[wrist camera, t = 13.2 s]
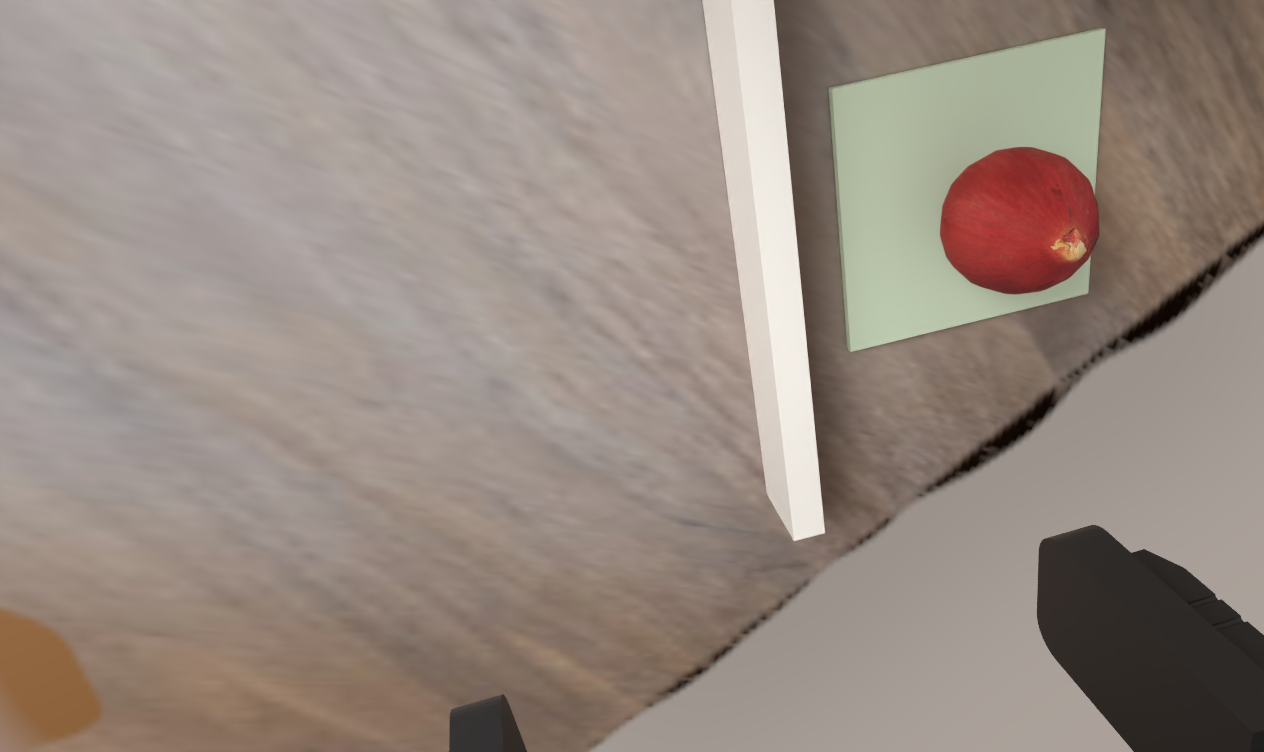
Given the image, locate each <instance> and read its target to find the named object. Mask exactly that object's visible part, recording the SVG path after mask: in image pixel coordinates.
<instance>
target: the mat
mask: <svg viewBox="0 0 1264 752" xmlns="http://www.w3.org/2000/svg"><path fill="white" fill-rule="evenodd" d="M1105 31H1106V29H1101V28H1099V29H1094V30H1090V31H1085V32H1081V33H1076V34H1072V35H1067V36H1062V37H1058V38H1053V39H1049V40H1044V41H1040V42H1035V43H1031V44H1026V45H1022V46H1017V47H1012V48H1008V49H1003V50H999V51H994V52H990V53H985V54H981V55H976V56H972V57H967V58H963V59H958V60H953V61H949V62H944V63H940V64H935V65H931V66H926V67H922V68H917V69H913V70H908V71H903V72H899V73H894V74H890V75H885V76H881V77H876V78H872V79H867V80H863V81H858V82H853V83H849V84H844V85H840V86H835V87H831V88H828V90H829V103H830V117H831V131H832V145H833V158H834V172H835V186H836V200H837V214H838V227H839V241H840V255H841V269H842V282H843V296H844V310H845V324H846V337H847V349H848V350H849V351H850V352H853V351H857V350H861V349H865V348H869V347H873V346H877V345H881V344H885V343H889V342H893V341H898V340H902V339H906V338H910V337H914V336H918V335H922V334H926V333H930V332H934V331H938V330H942V329H946V328H950V327H954V326H958V325H963V324H967V323H971V322H975V321H979V320H983V319H987V318H991V317H995V316H999V315H1003V314H1007V313H1011V312H1015V311H1019V310H1023V309H1028V308H1032V307H1036V306H1040V305H1044V304H1048V303H1052V302H1056V301H1060V300H1064V299H1068V298H1072V297H1076V296H1080V295H1084V294H1088V289H1089V274H1090V259H1091V255H1090V257H1089V259H1088V260H1087V261H1086V262H1085V263H1084V264H1083V265H1082V266H1081V267H1080V268H1079V269H1078V270H1077V271H1076V272H1075V273H1074V274H1073V275H1072V276H1071V277H1070V278H1069V279H1067V280H1065V281H1063V282H1061V283H1059V284H1057V285H1055V286H1053V287H1051V288H1048V289H1046V290H1043V291H1040V292H1033V293H1024V294H1016V295H1014V294H1004V293H1000V292H997V291H993V290H989V289H986V288H982V287H980V286H977V285H975V284H972V283H971V282H969V281H968V280H967V279H966V278H965V277H964V276H963V275H962V274H961V273H959V272H958V271H957V270H956V269H955V268H954V267H953V266H952V264H951V263H950V262H949V260H948V259H947V258H946V255H945V251H944V248H943V245H942V241H941V238H940V223H941V214H942V205H943V203H944V200H945V198H946V196H947V193H948V191H949V189H950V186H951V184H952V183H953V182H954V181H955V180H956V178H957V177H958V176H959V175H960V174H961V173H962V172H963V171H964V170H965V169H966V168H967V167H968V166H969V165H971V164H973V163H975V162H976V161H978V160H980V159H982V158H983V157H985V156H987V155H989V154H991V153H992V152H994V151H996V150H1002V149H1008V148H1015V147H1033V148H1037V149H1040V150H1044V151H1047V152H1051V153H1054V154H1057V155H1060V156H1062V157H1065V158H1067V159H1068V160H1069V161H1070V162H1071V163H1072V164H1073V165H1074V166H1075V167H1077V168H1078V169H1079V170H1080V171H1081V172H1082V173H1083V174H1084V175H1085V176H1086V177H1087V178H1088V179H1089V181H1090V183H1091V185H1092V188H1093V192H1094V195H1095V183H1096V168H1097V153H1098V137H1099V122H1100V107H1101V92H1102V77H1103V61H1104V46H1105Z"/></svg>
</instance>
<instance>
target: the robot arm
mask: <svg viewBox="0 0 1264 752" xmlns="http://www.w3.org/2000/svg"><path fill="white" fill-rule="evenodd" d="M1038 565H1039V566H1038V597H1037V619H1038V624H1039V628H1040V631H1041V634H1042V636H1043V639H1044V641H1045V643H1046V645H1047V647H1048V649H1049V650H1050V652H1051V654H1052V655H1053V656H1054V658H1055V659H1056V660H1057V661H1058V662H1059V664H1060V665H1061V666H1062V667H1063V669H1064V670H1065V671H1066V672H1067V673H1068V674H1069V676H1070V677H1071V678H1072V679H1073V680H1074V682H1075V683H1076V684H1077V685H1078V686H1079V687H1080V688H1081V690H1082V691H1083V692H1084V693H1085V694H1086V696H1087V697H1088V698H1089V699H1090V700H1091V702H1092V703H1093V704H1094V705H1095V706H1096V708H1097V709H1098V710H1099V711H1100V712H1101V713H1102V714H1103V716H1104V717H1105V718H1106V719H1107V720H1108V722H1109V723H1110V724H1111V725H1112V726H1113V728H1114V729H1115V730H1116V731H1117V732H1118V733H1119V734H1120V736H1121V737H1122V738H1123V739H1124V740H1125V742H1126V743H1127V744H1128V745H1129V746H1130V748H1131V749H1132V750H1133V751H1134V752H1264V635H1263V634H1262V633H1260V632H1259V631H1258V630H1257V629H1256V628H1254V627H1253V626H1252V625H1251V624H1250V623H1249V622H1243V621H1242V619H1241V616H1240V615H1239V614H1238V613H1237V612H1236V611H1234V610H1233V609H1232V608H1231V607H1230V606H1229V605H1227V604H1226V603H1225V602H1224V601H1222V600H1218V599H1217V598H1216V596H1215V594H1214V593H1213V592H1212V591H1211V590H1210V589H1208V588H1207V587H1206V586H1205V585H1204V584H1202V583H1201V582H1200V581H1199V580H1198V579H1197V578H1195V577H1194V576H1193V575H1192V574H1191V573H1190V572H1188V571H1187V570H1186V569H1184V568H1183V567H1181V566H1179V565H1177V564H1174V563H1172V562H1170V561H1168V560H1166V559H1164V558H1162V557H1160V556H1158V555H1155V554H1153V553H1151V552H1149V551H1147V550H1145V549H1143V550H1140V551H1137V552H1133V553H1131V552H1129V551H1128V550H1127V549H1126V548H1125V547H1124V546H1123V545H1122V544H1120V543H1119V542H1118V541H1117V540H1115V538H1114V537H1113V536H1111V535H1110V534H1109V533H1108V532H1107V531H1106V530H1104V529H1103V528H1101V527H1099V526H1096V525H1091V526H1087V527H1084V528H1080V529H1077V530H1074V531H1070V532H1067V533H1063V534H1060V535H1056V536H1053V537H1049V538H1046V539H1044V540H1042V542H1041V543H1040V547H1039V564H1038ZM449 752H527V750H526V748H525V745H524V742H523V740H522V737H521V735H520V732H519V729H518V727H517V724H516V722H515V719H514V716H513V714H512V711H511V708H510V706H509V703H508V701H507V699H506V697H505V696H504V695H503V694H502V695H499V696H495V697H492V698H489V699H485V700H482V701H478V702H475V703H471V704H468V705H464V706H461V707H458V708H454V709H452V710H451V713H450V751H449Z"/></svg>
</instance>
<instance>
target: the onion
mask: <svg viewBox="0 0 1264 752" xmlns="http://www.w3.org/2000/svg"><path fill="white" fill-rule="evenodd" d="M1098 237H1099V214H1098V205H1097V201H1096V198H1095V195H1094V192H1093V188H1092V185H1091V183H1090V181H1089V179H1088V178H1087V177H1086V176H1085V175H1084V174H1083V173H1082V172H1081V171H1080V170H1079V169H1078V168H1077V167H1075V166H1074V165H1073V164H1072V163H1071V162H1070V161H1069V160H1068V159H1067V158H1065V157H1062V156H1060V155H1057V154H1054V153H1051V152H1047V151H1044V150H1040V149H1037V148H1033V147H1015V148H1008V149H1002V150H996V151H994V152H992V153H991V154H989V155H987V156H985V157H983V158H982V159H980V160H978V161H976V162H975V163H973V164H971V165H969V166H968V167H967V168H966V169H965V170H964V171H963V172H962V173H961V174H960V175H959V176H958V177H957V178H956V180H955V181H954V182H953V183H952V184H951V186H950V189H949V191H948V193H947V196H946V198H945V200H944V203H943V205H942V214H941V223H940V238H941V241H942V245H943V248H944V251H945V255H946V258H947V259H948V260H949V262H950V263H951V264H952V266H953V267H954V268H955V269H956V270H957V271H958V272H959V273H961V274H962V275H963V276H964V277H965V278H966V279H967V280H968V281H969V282H971V283H972V284H975V285H977V286H980V287H982V288H986V289H989V290H993V291H997V292H1000V293H1004V294H1014V295H1016V294H1024V293H1033V292H1040V291H1043V290H1046V289H1048V288H1051V287H1053V286H1055V285H1057V284H1059V283H1061V282H1063V281H1065V280H1067V279H1069V278H1070V277H1071V276H1072V275H1073V274H1074V273H1075V272H1076V271H1077V270H1078V269H1079V268H1080V267H1081V266H1082V265H1083V264H1084V263H1085V262H1086V261H1087V260H1088V259H1089V257H1090V255H1091V253H1092V250H1093V248H1094V246H1095V244H1096V242H1097V239H1098Z"/></svg>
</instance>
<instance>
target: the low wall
mask: <svg viewBox="0 0 1264 752" xmlns="http://www.w3.org/2000/svg"><path fill="white" fill-rule="evenodd" d="M702 1H703V9H704V16H705V24H706V32H707V39H708V47H709V55H710V62H711V70H712V78H713V85H714V93H715V101H716V108H717V116H718V123H719V131H720V139H721V146H722V154H723V162H724V169H725V177H726V185H727V192H728V200H729V208H730V215H731V223H732V231H733V238H734V246H735V254H736V261H737V269H738V277H739V284H740V292H741V300H742V307H743V315H744V323H745V330H746V338H747V346H748V353H749V361H750V368H751V376H752V384H753V391H754V399H755V407H756V414H757V422H758V430H759V437H760V445H761V453H762V460H763V468H764V476H765V483H766V491H767V495H768V497H769V499H770V500H771V502H772V504H773V506H774V507H775V509H776V511H777V512H778V514H779V516H780V518H781V519H782V521H783V523H784V525H785V526H786V528H787V530H788V531H789V533H790V535H791V537H792V538H793V540H794V541H796V540H800V539H804V538H808V537H811V536H815V535H819V534H823V533H825V529H824V519H823V508H822V498H821V487H820V477H819V466H818V456H817V446H816V435H815V425H814V414H813V404H812V394H811V383H810V373H809V362H808V352H807V342H806V331H805V321H804V310H803V300H802V289H801V279H800V269H799V258H798V248H797V237H796V227H795V217H794V206H793V196H792V185H791V175H790V165H789V154H788V144H787V133H786V123H785V112H784V102H783V92H782V81H781V71H780V60H779V50H778V40H777V29H776V19H775V8H774V0H702Z"/></svg>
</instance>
